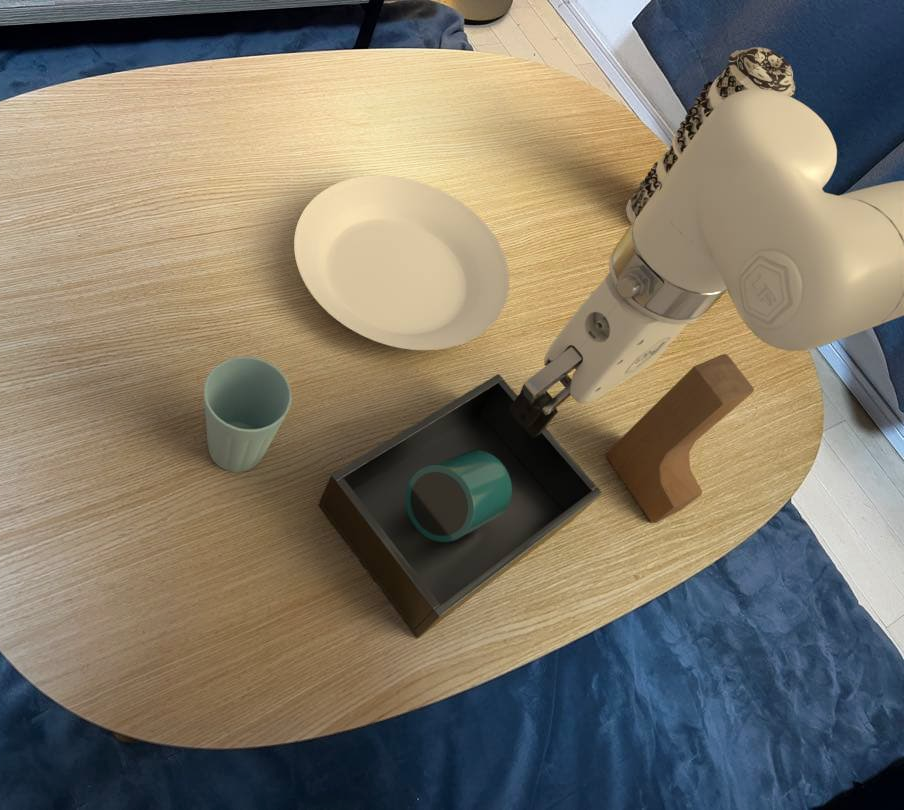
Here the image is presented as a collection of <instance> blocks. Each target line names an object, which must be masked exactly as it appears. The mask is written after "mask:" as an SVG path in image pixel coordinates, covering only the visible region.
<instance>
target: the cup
mask: <svg viewBox="0 0 904 810" xmlns="http://www.w3.org/2000/svg"><path fill="white" fill-rule="evenodd" d="M292 394H293V393H292V389H291V386H290V382H289V381H288V379H287V377H286V375H285V374H284V373H283V372H282V371H281V369H279V368H278V367H277V366H275V365H274V364H273V363H272V362H269V361H267V360H265V359H263V358H259V357H255V356H247V355H246V356H245V355H244V356H243V355H242V356H236V357H235V356H234V357H231V358H228V359H225V360H223V361H221V362H219V363H218V364H216V365H215V366H214V367H213V368H212V369H211V371H210V372H209V373H208V375H207V376H206V379H205V381H204V384H203V405H204V416H205V429H206V442H207V449H208V453H209V455H210V456H209V457H210V459H211V460H212V461H213V463H215V464H216V465H217V466H218V467H219V468H221V469H223V470H225V471H228V472H231V473H243V472H247V471H250V470H252V469H253V468H255V467H257V466H258V465H259V463H260V462H261V461H262V459H263V458H264V456H265V454H266V452H267V451H268V449H269V447H270V446H271V443H272V442H273V440H274V439H275V437H276V435H277V433H278V431H279V429H280V427H281V425H282V424H283V422H284V420H285V418H286V416H287V415H288V413H289V411H290V409H291V405H292V398H293V396H292Z"/></svg>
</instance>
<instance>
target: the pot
mask: <svg viewBox="0 0 904 810" xmlns="http://www.w3.org/2000/svg"><path fill="white" fill-rule="evenodd" d="M511 493H512V485H511V480H510V477H509V474H508V472H507V470H506V468H505V467H504V465H503V464H502V463H501V462H500V461H499V460H498V459H497V458H496V457H495V456H493V455H491V454H489V453H487V452H484V451H480V450H470V451H466V452H463V453H461V454H458V455H455V456H453V457H450V458H447V459H445V460H442V461H440V462H437V463H434V464H432V465H429V466H426V467H424V468H422V469H420V470H418V471H417V472H416V473H415V474H414V475H413V476H412V478H411V479H410V481H409V483H408V486H407V489H406V496H405V501H406V509H407V512H408V515H409V517H410V519H411V521H412V523H413V524H414V526H415V527H416V528H417V529H418V530H419V531H420V532H421V533H422V534H423V535H425V536H426V537H428V538H430V539H432V540H435V541H439V542H450V541H454V540H457V539H459V538H460V537H462V536H464V535H466V534H468V533H469V532H471V531H473V530H475V529H477V528H478V527H480V526H482V525H484V524H486V523H488V522H489V521H491V520H493V519H495V518H497V517H498V516H500V515H501V514H502V513H503V512H504V511H505V510H506V508H507V506H508V504H509V502H510V499H511Z"/></svg>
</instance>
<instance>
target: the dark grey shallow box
mask: <svg viewBox="0 0 904 810" xmlns="http://www.w3.org/2000/svg"><path fill="white" fill-rule="evenodd" d="M517 396H518V394H517V393H516V392H515V390H513V389H512V387H511V386H510V385H509V384H508V383H507V382H506V381H505V380H504V378H503V377H502V376H501V375H500V373H498V374H496V375H494V376H493V377H491V378H489V379H488V380H486V381H484V382H483V383H481V384H479V385H477V386H476V387H474V388H472V389H471V390H468V392H466V393H464V394H463V395H461V396H459V397H458V398H456V399H454V400H452V401H450V402H449V403H448V404H445V405H444V406H442V407H441V408H439V409H437V410H436V411H434V412H433V413H431V414H429V415H428V416H425V417H424V418H423V419H421V420H419V421H418V422H416V423H414V424H413V425H410V426H409V427H407V428H405V429H404V430H403V431H401V432H399V433H398V434H396V435H394V436H393V437H391V438H389V439H388V440H386V441H384V442H383V443H380V444H379V445H378V446H376V447H374V448H373V449H371V450H369V451H367V452H366V453H364V454H363V455H361V456H359V457H358V458H356V459H354V460H352V461H351V462H350V463H348V464H346V465H344V466H343V467H341V468H339V469H338V470H336V471H333V473H331V474H330V476H329V479H328V481H327V483H326V486H325V487H324V490H323V492H322V494H321V497H320V499H319V501H318V503H317V506H318V508H320V510H321V512H323V514H324V515H325V517H326V518H327V519H328V521H329V522H330V523H331V525H332V526H333V528H334V529H335V530H336V532H337V533H338V534H339V535H340V537H341V538H342V539H343V541H344V542H345V543H346V545H347V546H348V547H349V549H350V550H351V552H352V553H353V554H354V556H355V557H356V558H357V560H358V561H359V562H360V564H361V565H362V566H363V568H364V569H365V570H366V572H367V573H368V574H369V576H370V577H371V578H372V580H373V581H374V582H375V584H376V585H377V587H378V588H379V589H380V591H381V592H382V594H384V596H385V597H386V598H387V600H388V602H389V603H390V604H391V606H392V607H393V608H394V609H395V611H396V612H397V614H399V616H400V617H401V618H402V620H403V621H404V623H405V624H406V625H407V627H408V628H409V629H410V631H411V632H412V634H413V635H414V637H416V639H419V638H422V636H423V635H425V634H426V633H427V632H428V631H430V630H431V629H432V628H434V627H435V626H437V625H438V624H439V623H440V622H441V621H443V620H445V619H446V618H447V617H448V616H449V615H451V614H452V613H453V612H454V611H456V610H458V609H459V608H460V607H461V606H463V605H464V604H465V603H467V602H468V601H469V600H470V599H472V598H473V597H475V596H476V595H477V594H478V593H480V592H481V591H482V590H484V589H485V588H487V587H488V586H489V585H491V584H492V583H493V582H495V581H496V580H497V579H498V578H500V577H501V576H502V575H503V574H505V573H507V571H509V570H510V569H511V568H512V567H514V566H515V565H516V564H518V563H519V562H521V561H522V560H523V559H524V558H525V557H527V556H529V554H531V553H532V552H533V551H535V550H536V549H537V548H539V547H540V546H542V545H543V544H544V543H545V542H547V541H548V540H549V539H551V538H552V537H554V536H555V535H556V534H557V533H558V532H560V531H561V530H562V529H563V528H565V527H566V526H568V525H569V524H570V523H572V522H574V520H575V519H576V518H578V517H579V515H581V514H582V513H583V512H584V511H585V510H587V508H588V507H590V505H592V504H593V503H594V502H595V501H596V500H598V498H599V497H601V496H602V495H603V492H602V491H601V489H600V488H599V487H598V486H597V484H595V483H594V481H593V480H592V479H591V478H590V477H589V475H587V473H586V472H585V471H584V470H583V469H582V467H581V466H580V465H579V464H578V463H577V462H576V460H574V458H572V456H571V455H570V454H569V453H568V452H567V450H566V449H565V448H564V447H563V446H562V445H561V444H560V442H559V441H558V440H557V438H555V436H554V435H553V434H552V433H551V432H550V431H549V430H548V429H547V428H546V427H545V428H544V430H543V431H542V432H541V433H540V434H539V435H538V436H536V437H532V436H531V435H530V434H529V433H528V432H527V431H526V429H525V428H524V427H522V426H521V425H520V424H519V423H518V422H517V420H516V419H515V416H514V415H513V414H512V413H511V411H510V406H511V405H512V403H513V402H514V401H515V399H516V398H517ZM470 450H480V451H484V452H487V453H489V454H491V455H493V456H495V457H496V458H497V459H498V460H499V461H500V462H501V463H502V464H503V465H504V467H505V468H506V470H507V472H508V474H509V477H510V480H511V485H512V493H511V499H510V502H509V504H508V506H507V508H506V510H505V511H504V512H503V513H502V514H501V515H500V516H498V517H497V518H495V519H493V520H491V521H489V522H488V523H486V524H484V525H482V526H480V527H478V528H477V529H475V530H473V531H471V532H469V533H468V534H466V535H464V536H462V537H460V538H459V539H457V540H454V541H450V542H439V541H435V540H432V539H430V538H428V537H426V536H425V535H423V534H422V533H421V532H420V531H419V530H418V529H417V528H416V527H415V526H414V524H413V523H412V521H411V519H410V517H409V515H408V512H407V509H406V501H405V496H406V489H407V486H408V483H409V481H410V479H411V478H412V476H413V475H414V474H415V473H416V472H417V471H418V470H420V469H422V468H424V467H426V466H429V465H432V464H434V463H437V462H440V461H442V460H445V459H447V458H450V457H453V456H455V455H458V454H461V453H463V452H466V451H470Z"/></svg>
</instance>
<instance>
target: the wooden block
mask: <svg viewBox="0 0 904 810" xmlns="http://www.w3.org/2000/svg"><path fill="white" fill-rule="evenodd" d="M754 391H755V389H754V386H753V385H752V384H751V382H750V381H749V380H748V379H747V378H746V376H745V375H744V374H743V372H742V371H741V370H740V369H739V367H738V366H737V365H736V364H735V362H734V361H733V360H732V358H731V357H730V356H729V355H728V354H726V353H722V354H720V355H718V356H715V357H713V358H710V359H708V360H706V361H703V362H701V363H698V364H696V365H694V366H693V367H692V368H691V369H689V370H688V372H686V373H685V374H684V376H683V377H682V378H680V380H678V381H677V383H675V384H674V385H673V386H672V387H671V388H670V389H669V390H668V391H667V392H666V393H665V394H664V395H663V396H662V397H661V398H660V399H659V400H658V401H657V402H656V403H655V404H653V406H652V407H651V408H650V409H649V410H648V411H646V413H645V414H644V415H643V416H642V417H641V418H640V419H638V421H637V422H636V423H635V424H634V425H633V426H631V428H630V429H629V430H628V431H627V432H625V434H624V435H623V436H622V437H621V438H620V439H619V440H618V441H616V443H614V445H613V446H612V447H611V448H609V450H607V452H606V453H605V456H606V459H607V460H608V461H609V463H610V464H611V466H612V467H613V468H614V470H615V471H616V473H617V475H618V476H619V478H620V479H621V481H622V482H623V483H624V484H625V486H626V488H627V489H628V490H629V492H630V493H631V495H632V497H633V498H634V500H635V501H636V502H637V504H638V505H639V506H640V508H641V510H642V511H643V512H644V514H645V516H646V517H647V518H648V520H649V521H650V522H651V523H652V524H656V523H659V522H660V521H662V520H664V519H666V518H669V517H670V516H672V515H674V514H676V513H678V512H680V511H682V510H683V509H685V508H686V507H688V505H690V504H691V503H693V502H694V501H696V499H698V498H700V497H701V496H702V494H703V490H702V488H701V486H700V484H699V483H698V481H697V479H696V477H695V475H694V473H693V472H692V470H691V460H690V458H691V457H690V452H691V450H692V448H693V447H694V445H695V443H696V442H697V441H698V440H699V439H700V438H702V437H703V436H704V435H705V434H706V433H707V432H709V431H710V430H711V429H712V428H714V427H715V426H716V425H717V424H718V423H719V422H720V421H721V420H723V419H724V418H726V416H727V415H728V414H730V413H731V412H732V411H733V410H734V409H736V408H737V407H738V406H739V405H740V404H742V402H744V401H745V400H747V398H749V397H750V396H751V395H752V394H753V393H754Z"/></svg>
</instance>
